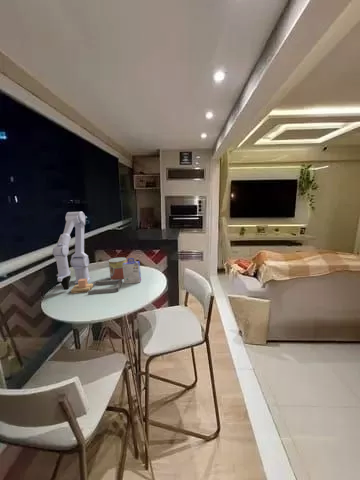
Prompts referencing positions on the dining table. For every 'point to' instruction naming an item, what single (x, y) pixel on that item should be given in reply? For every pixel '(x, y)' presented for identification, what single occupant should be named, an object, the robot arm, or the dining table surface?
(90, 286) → the pallet
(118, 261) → the canned food
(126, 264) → the ink cartridge box
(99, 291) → the dock
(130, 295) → the dining table surface
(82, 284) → the salmon pink cube
